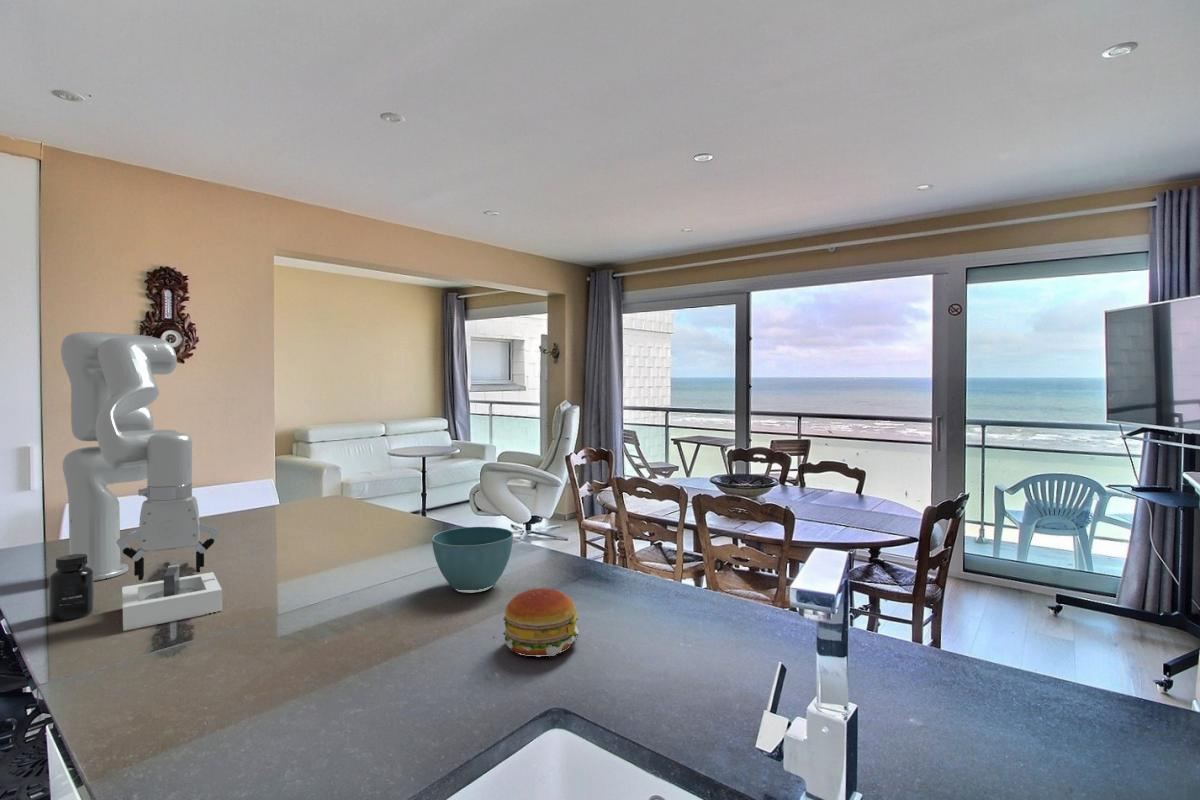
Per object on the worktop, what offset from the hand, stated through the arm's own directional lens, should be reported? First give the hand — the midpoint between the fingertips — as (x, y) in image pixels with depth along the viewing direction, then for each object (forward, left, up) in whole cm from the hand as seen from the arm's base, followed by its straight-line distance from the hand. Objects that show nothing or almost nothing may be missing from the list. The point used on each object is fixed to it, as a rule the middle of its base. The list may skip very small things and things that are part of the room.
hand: (170, 574), depth 124 cm
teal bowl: (+28, +55, -8) cm, 62 cm away
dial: (+1, 0, -6) cm, 6 cm away
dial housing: (+1, 0, -7) cm, 7 cm away
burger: (+64, +50, -8) cm, 81 cm away
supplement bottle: (-8, -16, -8) cm, 19 cm away
